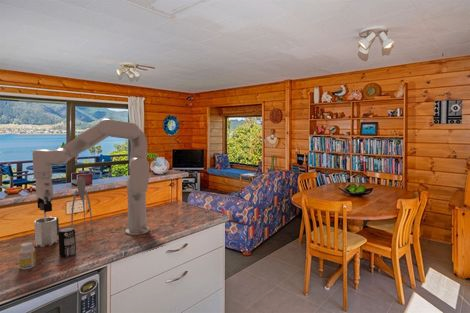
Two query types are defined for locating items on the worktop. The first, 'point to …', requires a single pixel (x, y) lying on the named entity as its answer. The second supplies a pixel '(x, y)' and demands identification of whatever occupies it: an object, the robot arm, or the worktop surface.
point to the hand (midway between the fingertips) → (44, 209)
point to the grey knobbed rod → (43, 209)
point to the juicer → (81, 193)
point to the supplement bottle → (27, 256)
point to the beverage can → (67, 242)
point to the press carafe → (46, 231)
